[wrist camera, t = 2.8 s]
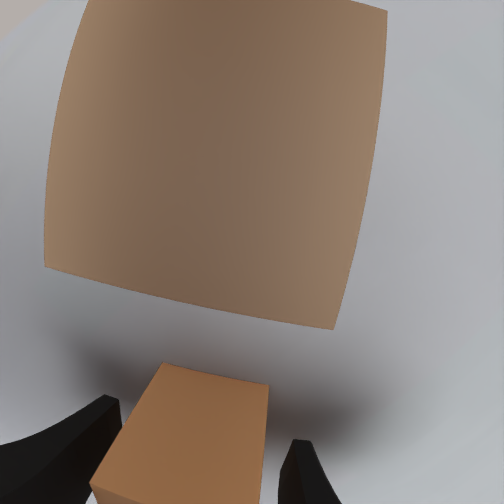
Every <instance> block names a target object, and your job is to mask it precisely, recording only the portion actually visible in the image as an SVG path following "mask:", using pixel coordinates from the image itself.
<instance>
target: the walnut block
mask: <svg viewBox="0 0 504 504" xmlns="http://www.w3.org/2000/svg"><path fill="white" fill-rule="evenodd" d="M387 12H388V11H386V10H383V9H380V8H376V7H373V6H369V5H366V4H362V3H358V2H355V1H351V0H89V1H88V3H87V6H86V9H85V11H84V14H83V17H82V19H81V22H80V25H79V28H78V31H77V34H76V37H75V40H74V43H73V46H72V50H71V53H70V56H69V60H68V64H67V67H66V71H65V75H64V79H63V83H62V87H61V92H60V96H59V101H58V106H57V111H56V116H55V122H54V127H53V133H52V140H51V147H50V155H49V163H48V173H47V184H46V198H45V219H44V263H45V267H48V268H52V269H55V270H58V271H62V272H65V273H69V274H72V275H76V276H79V277H83V278H87V279H90V280H94V281H98V282H101V283H105V284H109V285H113V286H117V287H121V288H124V289H128V290H132V291H137V292H141V293H145V294H149V295H153V296H157V297H162V298H166V299H170V300H175V301H179V302H184V303H188V304H193V305H197V306H202V307H207V308H212V309H216V310H221V311H226V312H231V313H236V314H242V315H247V316H252V317H257V318H263V319H268V320H274V321H280V322H285V323H291V324H297V325H303V326H310V327H316V328H322V329H329V330H334V327H335V323H336V320H337V316H338V313H339V309H340V306H341V302H342V299H343V295H344V291H345V288H346V284H347V280H348V276H349V272H350V268H351V264H352V260H353V256H354V252H355V247H356V243H357V239H358V234H359V230H360V225H361V220H362V216H363V211H364V206H365V201H366V196H367V190H368V185H369V179H370V174H371V168H372V162H373V156H374V150H375V143H376V136H377V129H378V122H379V114H380V106H381V97H382V88H383V77H384V66H385V53H386V37H387Z"/></svg>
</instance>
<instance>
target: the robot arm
mask: <svg viewBox="0 0 504 504" xmlns="http://www.w3.org/2000/svg"><path fill="white" fill-rule="evenodd" d="M121 429H122V422H121V414H120V405H119V399H116V398H113V397H111V396H108V395H105V394H104V395H103V396H101V397H99V398H98V399H96V400H95V401H93V402H92V403H90V404H89V405H87V406H85V407H84V408H82V409H81V410H79V411H77V412H76V413H74V414H73V415H71V416H69V417H67V418H66V419H64V420H62V421H61V422H59V423H57V424H55V425H53V426H51V427H49V428H47V429H45V430H43V431H41V432H39V433H36V434H34V435H32V436H29V437H26V438H24V439H21V440H18V441H15V442H11V443H7V444H3V445H0V504H86V501H87V499H88V498H89V496H90V494H91V492H92V488H91V486H90V483H89V482H90V480H91V479H92V477H93V475H94V474H95V472H96V470H97V469H98V467H99V465H100V464H101V462H102V460H103V459H104V457H105V455H106V454H107V452H108V450H109V449H110V447H111V445H112V444H113V442H114V440H115V439H116V437H117V435H118V434H119V432H120V430H121ZM278 504H342V503H341V502H340V500H339V499H338V497H337V495H336V494H335V492H334V490H333V488H332V486H331V484H330V483H329V481H328V479H327V477H326V475H325V473H324V471H323V468H322V466H321V464H320V462H319V460H318V457H317V455H316V452H315V450H314V447H313V444H312V442H311V441H307V440H297V439H293V441H292V444H291V446H290V449H289V451H288V453H287V456H286V458H285V461H284V463H283V465H282V468H281V470H280V478H279V487H278Z"/></svg>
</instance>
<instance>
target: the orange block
mask: <svg viewBox="0 0 504 504" xmlns="http://www.w3.org/2000/svg"><path fill="white" fill-rule="evenodd" d="M268 395H269V385H265V384H259V383H254V382H248V381H243V380H237V379H232V378H227V377H222V376H218V375H213V374H208V373H204V372H200V371H195V370H191V369H187V368H183V367H179V366H175V365H171V364H167V363H163V362H162V364H161V365H160V367H159V369H158V370H157V372H156V373H155V375H154V377H153V378H152V380H151V382H150V383H149V385H148V386H147V388H146V390H145V391H144V393H143V395H142V396H141V398H140V399H139V401H138V403H137V404H136V406H135V408H134V409H133V411H132V412H131V414H130V416H129V417H128V419H127V421H126V422H125V424H124V426H123V427H122V429H121V430H120V432H119V434H118V435H117V437H116V439H115V440H114V442H113V444H112V445H111V447H110V449H109V450H108V452H107V454H106V455H105V457H104V459H103V460H102V462H101V464H100V465H99V467H98V469H97V470H96V472H95V474H94V475H93V477H92V479H91V480H90V482H89V483H90V486H91V488H92V491H93V493H94V496H95V498H96V500H97V503H98V504H259V499H260V489H261V478H262V468H263V457H264V445H265V433H266V421H267V408H268Z"/></svg>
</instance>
